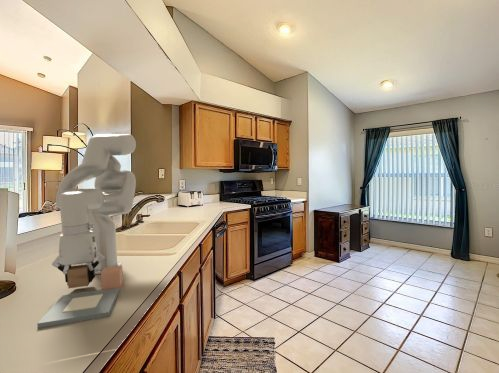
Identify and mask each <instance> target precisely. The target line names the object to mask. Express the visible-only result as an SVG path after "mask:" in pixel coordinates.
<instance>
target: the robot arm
mask: <svg viewBox="0 0 499 373" xmlns="http://www.w3.org/2000/svg"><path fill="white" fill-rule="evenodd" d="M86 145H87V146H86V148H85V150H84V151H85V152H84V154H83V158H82V161H81V163H80V164H79V165H77V166H76V167H74V168H73V169H71V170H70V171H69V172H68V173H66V175H65V176H64V177H63V178H62V180H61V181H60V184H59V186H58V188H57V191H56V195H55V196H56V197H55V204H56V206H57V208H58V209H59V211H60V212H59V213H60V222H61V231H62V233H61V234H60V235H59V236H60V237H59V242H58V243H59V244H58V256H57V257H56V258H55V260H54V261H53V262H51V266H53V267H55V268H57V269H58V270H59V271H61V272H62V274H64V278H65V279H64V280H65V283H66V284H67V286H68V278H67V270H68V269H69V268H70V267H71V266H72V265H74V264H82V263H86V264H87V266H88V268H89V271H88V278H89V284H91V283H92V282H93V280H94V279H95V278H96V275H101V272H102V271H103V269H104V268H105V267H114V266H122V267H123V265H122V262H120V261H119V260H118V254H117V253H118V251H117V250H118V249H117V234H116V232H117V231H116V224H115V221H114V220H113V219H112V218H111V216H112V215H113V216H115V215H125V214H129V213H130V212H131V211H132V209H133V205H134V199H135V193H136V189H137V188H136V187H137V180H136V175H135V173H134V172H132V171H130V170H121V167H122V166H121V163H120V162H119V160H118V159H117V158H116V157H115V156H127V155H130V154H133V153H134V152H135V150H136V148H137V141H136V139H135V137H134V136H133V135H132V134H129V133H126V134H124V133H122V134H120V133H119V134H117V133H116V134H115V133H113V134H112V133H111V134H110V133H108V134H107V133H105V134H95V135H92V136H91V137H90V138H89V139H88V141H87V144H86ZM94 178H95V179H94ZM92 179H94V188H77V187H78V186H80V184H83V183H84V182H86V181H89V180H92Z"/></svg>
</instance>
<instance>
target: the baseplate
mask: <svg viewBox="0 0 499 373" xmlns="http://www.w3.org/2000/svg"><path fill="white" fill-rule="evenodd" d="M120 292H121V288H120V287H119V288H111V289H104V290H102V289H99V290H98V289H97V290H92V291H91V290H90V291H86V292H85V291H83V292H76V293H70V294H69V293H68V294H62V295H61V296H60V298H58V300H57V301H56V302H55V303H54V304H53V305H52V307H50V309H49V310H48V311H47V312H46V313H45V314H44V315H43V317H42V318H41V319H40V320H38V322H37V323H36V324H37V329H41V328H47V327H52V326H53V327H54V326H58V325H66V324H71V323H72V324H73V323H76V322H83V321H89V320H96V319H102V318H106V317H109V316H110V315H111V312H112V310H113V308H114V305H115V303H116V301H117V299H118V297H119V294H120Z"/></svg>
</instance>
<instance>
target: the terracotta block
mask: <svg viewBox="0 0 499 373" xmlns="http://www.w3.org/2000/svg"><path fill="white" fill-rule="evenodd" d="M123 273H124V272H123V265H122V266H114V267H105V268H104V269H103V271H102V272H101V274H100V280H101V281H100V282H101V290H104V289H111V288H119V287H120V289H121V288H122V286H123V283H124V274H123Z"/></svg>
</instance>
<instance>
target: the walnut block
mask: <svg viewBox="0 0 499 373" xmlns="http://www.w3.org/2000/svg"><path fill="white" fill-rule="evenodd" d="M88 271H89V268H88V266H87V264H86V263H82V264H74V265H71V267H70V268H69V269H68V270H67V278H68V285H67V288H68V289H74V288H83V287H88V286H90V283H89V278H88Z"/></svg>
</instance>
